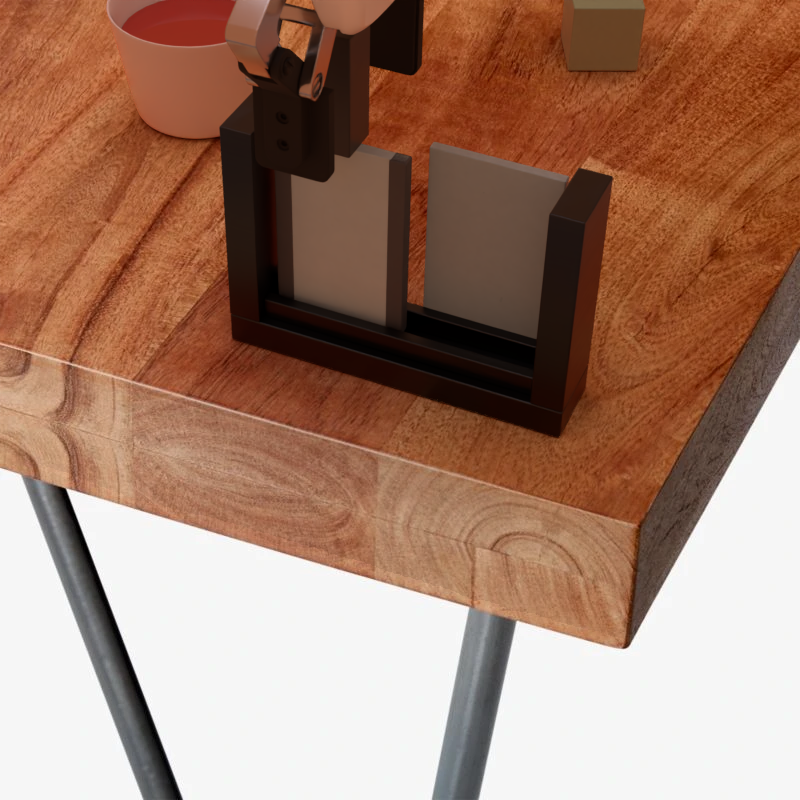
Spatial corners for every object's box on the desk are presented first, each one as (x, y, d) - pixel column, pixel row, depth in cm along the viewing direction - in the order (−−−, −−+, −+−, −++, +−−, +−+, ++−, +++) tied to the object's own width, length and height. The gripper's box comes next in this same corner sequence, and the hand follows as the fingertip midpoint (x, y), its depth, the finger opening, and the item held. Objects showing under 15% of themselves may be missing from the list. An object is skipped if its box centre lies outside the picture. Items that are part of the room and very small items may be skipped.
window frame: (231, 339, 76) (218, 126, 69) (266, 294, 79) (258, 84, 71) (559, 438, 72) (585, 223, 64) (585, 388, 74) (613, 175, 67)
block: (627, 35, 98) (635, -27, 95) (637, 71, 95) (645, 8, 92) (560, 35, 98) (566, -27, 95) (567, 71, 95) (574, 8, 92)
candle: (163, 51, 95) (155, -51, 91) (308, 83, 93) (306, -19, 89) (87, 131, 89) (74, 26, 85) (240, 168, 87) (235, 61, 82)
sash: (272, 308, 75) (261, 18, 65) (291, 284, 77) (283, -4, 67) (395, 345, 74) (403, 53, 64) (412, 319, 75) (423, 29, 65)
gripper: (333, -214, 49) (335, 256, 61) (533, -381, 61) (502, 39, 73) (114, -257, 51) (156, 205, 63) (348, -411, 63) (347, 2, 75)
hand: (341, 114), depth 68 cm, fingers open, 8 cm apart
